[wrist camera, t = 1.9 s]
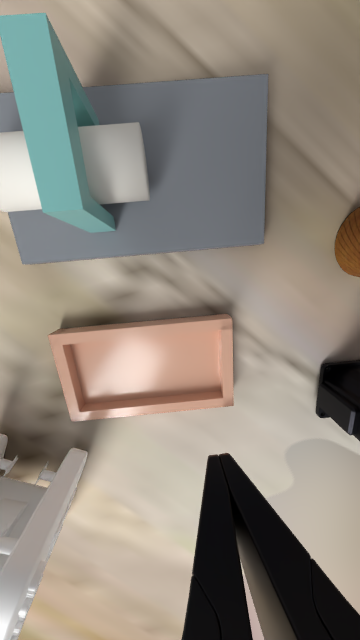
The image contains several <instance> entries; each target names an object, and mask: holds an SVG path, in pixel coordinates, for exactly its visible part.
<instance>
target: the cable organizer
mask: <svg viewBox="0 0 360 640" xmlns="http://www.w3.org/2000/svg"><path fill="white" fill-rule="evenodd" d="M7 442H8V437H7V436H6V435H4V434H0V469H2V470H6V472H5V474H4V475H3V476H0V640H17V639H18V637H19V634H20V631H21V629H22V626H23V624H24V621H25V618H26V616H27V613H28V611H29V609H30V606H31V604H32V601H33V599H34V596H35V594H36V592H37V589H38V587H39V584H40V582H41V579H42V577H43V575H44V574H43V571H44V569H45V566H46V564H47V562H48V559H49V557H50V554H51V552H52V550H53V547H54V545H55V543H56V540H57V538H58V536H59V533H60V531H61V528H62V526H63V522H64V519H65V517H66V515H67V512H68V510H69V507H70V505H71V502H72V500H73V497H74V495H75V492H76V489H77V488H76V487H77V484H78V481H79V479H80V476H81V474H82V471H83V468H84V465H85V462H86V459H87V451H84V450H80V449H77V448H71V449H70V451H69V452H68V453H67V455H66V456H65V458H64V460H63V462H62V463H61V465H60V467H59V469H58V471H57V472H53V471H49V470H45V469H46V468H47V466H48V465H47V464H48V462H47V464H46V465H45V467H44V468H43V470H42V471H41V473H40V475H39V477H38V479H37V482H38V480H39V479H42V480H46V481H49V482H51V483H50V485H49V486H48V488H47V487H43V486H39V485H36V484H31V483H27V482H23V481H19V480H15V479H11V478H7V477H4V476H5V475H6V474H7V473H9V472H10V470H11V468H12V467H13V465H14V464H15V462H16V461H17V460H18V458H17V456H16V457H15V459H14V460H13V461H11V460H7V459H3V458H4V454H5V450H6V446H7ZM16 458H17V459H16ZM37 482H36V483H37Z"/></svg>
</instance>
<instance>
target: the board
mask: <svg viewBox="0 0 360 640" xmlns="http://www.w3.org/2000/svg"><path fill="white" fill-rule="evenodd" d="M83 89H84V91H85V93H86V95H87V97H88V99H89V101H90V103H91V105H92V107H93V110H94V112H95V114H96V116H97V118H98V120H99V125H108V124H122V123H135V122H139V124H140V127H141V132H142V137H143V143H144V149H145V156H146V163H147V171H148V180H149V191H150V200H148V201H136V202H124V203H111V204H99V205H101V206H102V207H103V208H104V209H105V210H106V211H107V212H109V213H110V214H111V215H112V216H113V217H114V221H115V228H116V231H107V232H95V233H90V232H88V231H85V230H83V229H80V228H78V227H76V226H73V225H71V224H69V223H66V222H64V221H62V220H59V219H57V218H55V217H52V216H50V215H47V214H45V213H43V211H42V209H38V210H25V211H13V212H8V215H9V218H10V222H11V225H12V229H13V232H14V236H15V239H16V243H17V246H18V250H19V254H20V257H21V261H22V264H41V263H53V262H65V261H76V260H88V259H100V258H111V257H123V256H134V255H146V254H158V253H169V252H181V251H192V250H204V249H216V248H227V247H239V246H250V245H260V244H264V221H265V181H266V142H267V103H268V74H260V75H247V76H233V77H219V78H205V79H191V80H177V81H164V82H150V83H136V84H122V85H108V86H94V87H83ZM15 131H23V128H22V124H21V119H20V115H19V111H18V107H17V103H16V99H15V95H14V92H12V93H0V133H2V132H15Z"/></svg>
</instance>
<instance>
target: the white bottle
mask: <svg viewBox="0 0 360 640" xmlns="http://www.w3.org/2000/svg"><path fill="white" fill-rule="evenodd" d="M78 132H79V137H80V143H81V148H82V154H83V159H84V165H85V170H86V176H87V182H88V187H89V193H90V197H91V198H92V199H94V200H95V201H96V202H97V203H98V204H111V203H124V202H136V201H148V200H150V191H149V180H148V171H147V163H146V156H145V149H144V143H143V137H142V132H141V127H140V124H139V122H135V123H122V124H108V125H95V126H82V127H78ZM38 209H42V207H41V203H40V198H39V194H38V190H37V186H36V182H35V178H34V174H33V169H32V165H31V161H30V157H29V153H28V149H27V144H26V140H25V136H24V132H23V131H15V132H2V133H0V211H3V212H13V211H25V210H38Z"/></svg>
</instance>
